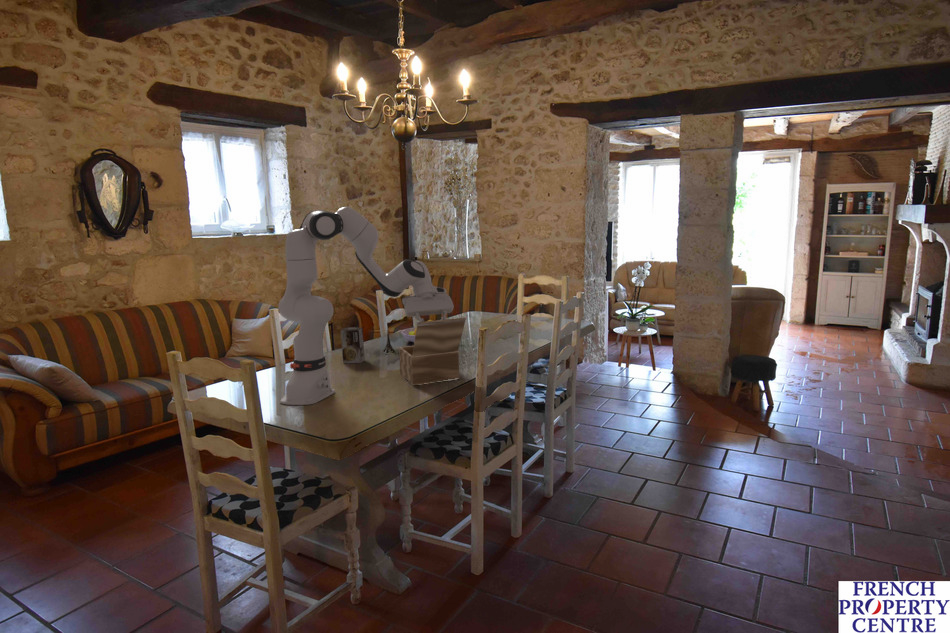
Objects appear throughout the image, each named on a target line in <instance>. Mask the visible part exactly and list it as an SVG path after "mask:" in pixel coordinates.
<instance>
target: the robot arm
mask: <svg viewBox="0 0 950 633" xmlns="http://www.w3.org/2000/svg"><path fill="white" fill-rule="evenodd" d="M337 235H341V236H343V237H345V239H346V240H348V242H350V244H351V245H352V246H353V247H354V249H355V253H354V255H355V257H356V259H357V261H358V262H359V263H360V264H361V265H362V266H363V268H364V269H365V270H366V272H367V273H368V274H369V275H370V276H371V277H372V279H373V280H374V281H375V282H376V284H377V285H378V286H379V288H380V290H381V291H382V293H384V294H385V296H387V297H392V298H393V297H394V298H397V297H399V296H400V295H401V294H402V293H403V292H404V291H405V290H406V289H407V288H409V287H410V286H412V287H411V288H413V289H412V291H413V295H409V296H403V298H402V299H401V303H402V305H403V307H404V314H405V316H407V317H408V318H409V317H411V318H412V317H414V318H415V319H416V320H417V321H418V322H425V320H424V317H421V316H430V315H431V316H432V315H441V314H442V316H441V318H440V320H446V319H447V314H451V313H453V310H454V307H455V306H454V302H453V300H452V298H451V296H450V295H449V294H448V291H447V288H445V287H439V286H434V284H433V283H432V277H431V273H430V271H429V269H428V266H426V264H425V262H423V261H421V260H412V259H406V258H405V259H404V260H402V261H401V262H400V263H398V264H397V265H396V266H395V267H394V268H393V269H391V270H390V271H389V272H385V271H384V270H383V269H382V268H381V266H380V265H379V264H378V263H377V261H375V259H374V257H373V254H374V252H375V251H376V250H375V249H376V247H377V245H378V241H379V231H378V229H377V228H376V227H375V225H374V224H372V223H371V222H370V221H369V220H368V219H367V218H366V217H365V216H363V214H361V213H359V212H358V211H357V210H355V209H354V208H352V207H350V206H343V207H340V208H339V209H338V210H337V211H336V212H331V211H326V210H323V209H322V210H321V209H318V210H313V211H312V210H311V211H310V212H308V213H307V214H306V215H305V216H304V218H303V220H302V222H301V224H300V227H299V228H298V229H294V230H291V231H289V232H287V234H286V237H285V246H284V247H285V250H284V252H285V263H286V264H285V267H286V277H287V278H286V287H285V292H284V294H283V297H282V298H281V299H280V300H279V301H278V302H279V303H278V307H277V308H278V312H279V315H280V316H281V317H282V318H284V319H286V320H288V321H290V322H294V323H299V330H298V333H297V335H296V336H294V338H293V353H294V354H293V355H294V359H293V362H291V363H290V365H289V367H290V368H289V369H293V371H292V373H291V374H290V378H289V379H288V381H287V384H286V386H285V394H284V396H282V398H281V399H280V402H279V404H282V405H289V406H291V405H292V406H306V405H315V404H317V403H318V402H320V401H322V400H324V399H326V398H328V397H330V396H331V395H333V394H335V393H336V389H334V388H333V386H332V380H331V375H330V371H329V370H328V369H327V367H326V365H327V363H326V361H327V360H326V356H325V352H324V334H325V329H326V326H327V324H328V323H329V322H330V321H331V320H332V318H333V316H334V305H333V304H332V302H331V301H330V300H329V299H327V298H324V297H322V296H319V295H312V294H311V293H312V288H313V285H314V283H315V282H316V281H317V280H318V275H319V274H318V267H317V266H318V265H317V255H316V247H317V246H316V245H317V244H318V241H327V240H331V239H332V238H334V237H335V236H337Z"/></svg>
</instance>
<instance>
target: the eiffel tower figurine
mask: <svg viewBox="0 0 950 633" xmlns="http://www.w3.org/2000/svg"><path fill="white" fill-rule="evenodd" d="M389 332H390V331H389V329H387V332H386V333H387V338H386V345H385V347H384V349H383V350H382V353H383V352H385V351H386V354H387V353H388V351H393V352H395V353H396V351H395V349H394V348H393V346H392V344H391V341H390V333H389ZM371 355H374V354H373V353H371ZM381 355H384V356H386V355H385V353H383V354H381Z"/></svg>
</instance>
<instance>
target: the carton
mask: <svg viewBox="0 0 950 633" xmlns="http://www.w3.org/2000/svg"><path fill="white" fill-rule="evenodd" d="M413 348H414V345H409V346H400V347H398V353H399V354H398V355H399V357H398V358H399V374H400V376H401V377H402V378H404V379H405V378H406V379H407V380H408V381H409V382H410V383H411V384H412V385H418V384H424V383H430V382H437V381H443V380H448V379H455V378H459V379H460V363H459V362H460V360H459V359H460V357H459V355H460V354H459V350H458V351H456V352H447V353H439V354H431V355H422V356H414V357H413V356H412V354H413ZM406 379H405V380H406ZM407 380H406V381H407ZM408 381H407V382H408ZM409 382H408V383H409ZM410 383H409V384H410ZM411 384H410V385H411ZM412 385H411V386H412Z"/></svg>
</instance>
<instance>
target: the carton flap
mask: <svg viewBox="0 0 950 633" xmlns="http://www.w3.org/2000/svg"><path fill="white" fill-rule="evenodd" d="M466 319H467V318H466V317H456V318H446V320H441V319H436V320H433V321H428V320H427V321H424V322H419V321H418V322H417V323H416V327H417V329H416V335H415V341H414V343H413V346H414V348H413V354H412V356H413V357H414V356H422V355H431V354H439V353H447V352H456V351H458V352H459V350H460V344H461V340H462V336H463V332H464V326H465V324H466Z"/></svg>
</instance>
